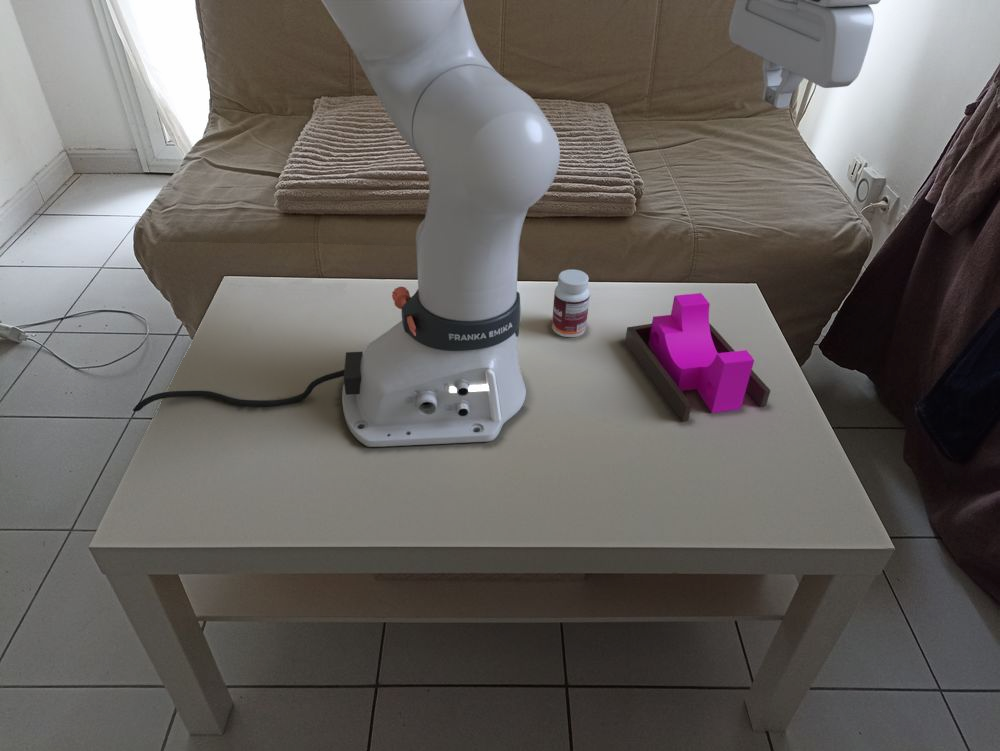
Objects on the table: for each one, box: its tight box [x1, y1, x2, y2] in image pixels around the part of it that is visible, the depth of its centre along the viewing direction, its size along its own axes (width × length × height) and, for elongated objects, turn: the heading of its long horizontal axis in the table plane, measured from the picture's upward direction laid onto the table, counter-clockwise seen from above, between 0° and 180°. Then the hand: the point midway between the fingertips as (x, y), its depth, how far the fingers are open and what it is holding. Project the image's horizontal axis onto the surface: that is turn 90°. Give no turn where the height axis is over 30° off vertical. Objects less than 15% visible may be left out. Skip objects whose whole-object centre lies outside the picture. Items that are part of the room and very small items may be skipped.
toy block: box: [647, 292, 755, 414], centre depth 95 cm, size 15×6×8 cm, turn 12°
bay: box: [624, 322, 771, 422], centre depth 97 cm, size 11×17×2 cm
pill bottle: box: [551, 268, 591, 338], centre depth 102 cm, size 5×5×8 cm
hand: (774, 104), depth 87 cm, fingers closed
